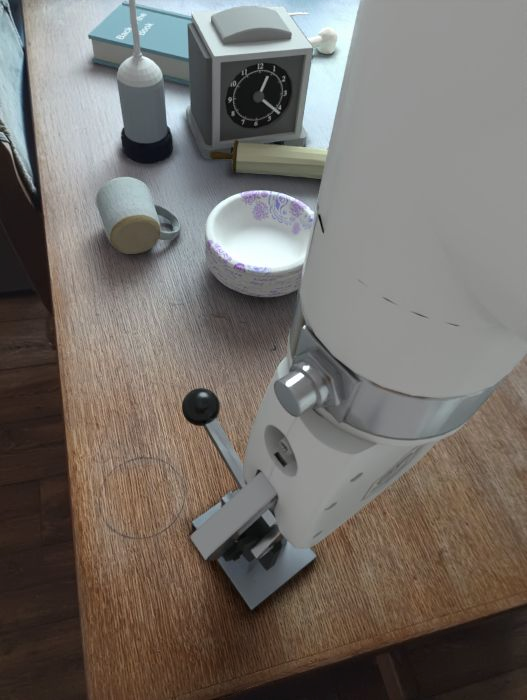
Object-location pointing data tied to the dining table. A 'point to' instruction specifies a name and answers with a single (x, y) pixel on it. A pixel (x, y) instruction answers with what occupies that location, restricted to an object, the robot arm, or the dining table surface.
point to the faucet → (322, 38)
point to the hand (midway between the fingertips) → (316, 497)
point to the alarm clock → (247, 78)
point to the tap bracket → (259, 566)
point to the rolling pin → (275, 159)
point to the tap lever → (216, 433)
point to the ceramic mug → (132, 216)
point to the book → (145, 40)
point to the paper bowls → (258, 242)
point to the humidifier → (143, 105)
